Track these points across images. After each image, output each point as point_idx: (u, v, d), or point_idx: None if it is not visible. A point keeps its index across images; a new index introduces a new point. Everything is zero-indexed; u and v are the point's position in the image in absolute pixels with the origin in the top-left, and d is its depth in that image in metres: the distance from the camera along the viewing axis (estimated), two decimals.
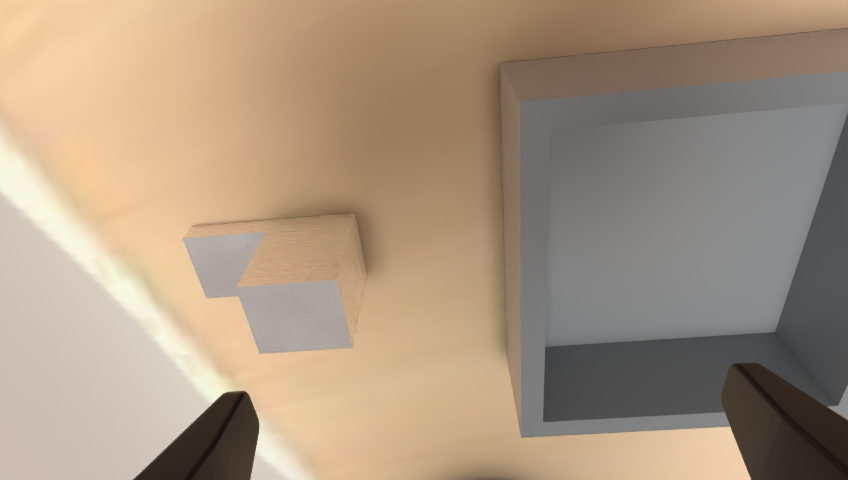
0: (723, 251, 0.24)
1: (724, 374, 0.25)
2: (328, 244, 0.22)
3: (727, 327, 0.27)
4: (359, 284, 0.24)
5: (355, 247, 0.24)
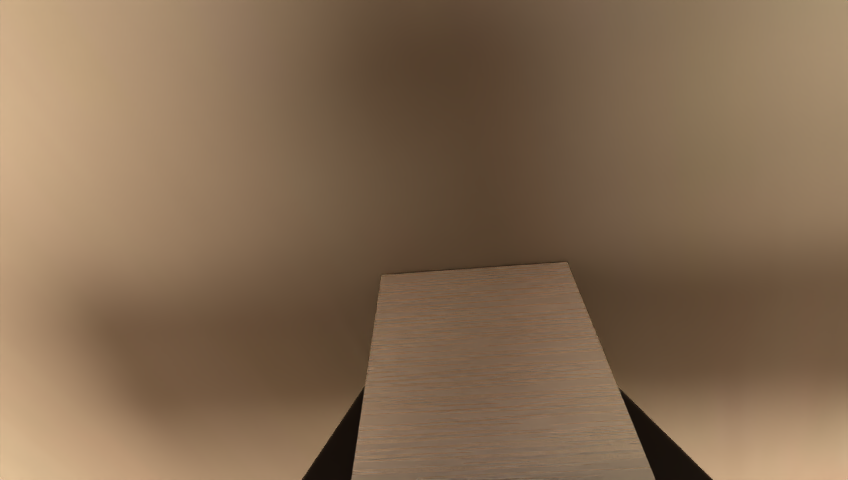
0: None
1: None
2: None
3: None
4: (545, 341, 0.08)
5: (440, 318, 0.09)
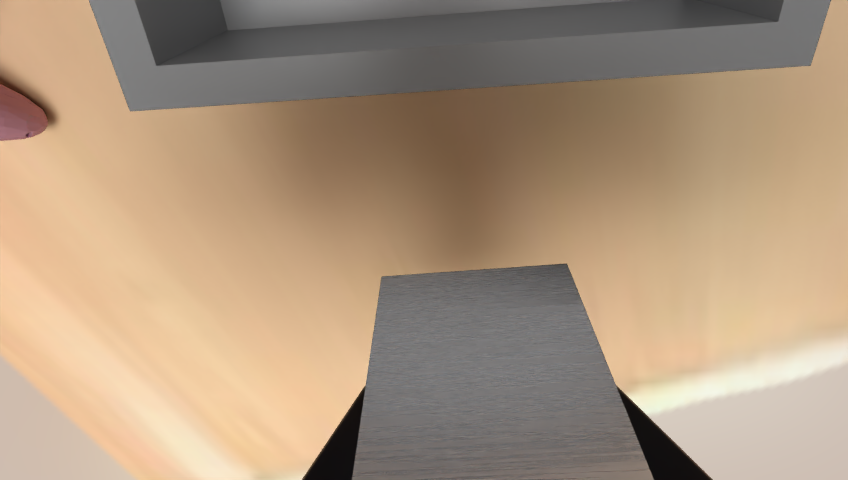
0: None
1: None
2: None
3: None
4: (545, 343, 0.08)
5: (440, 320, 0.09)
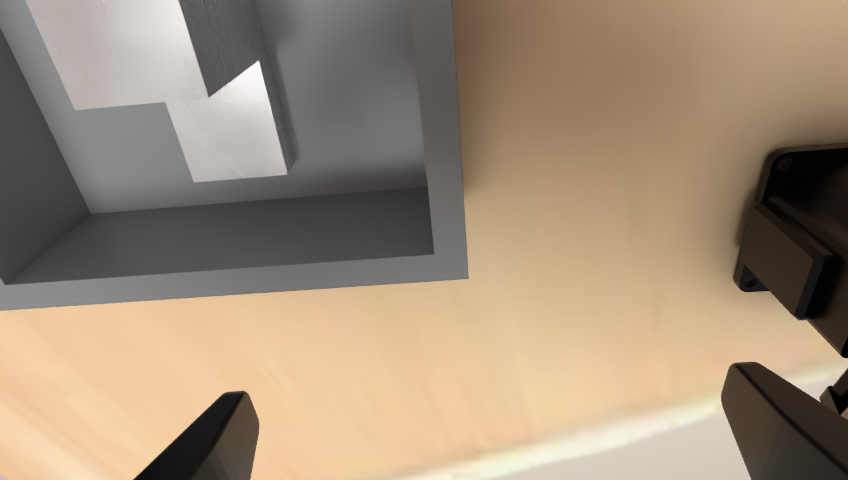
0: None
1: None
2: None
3: None
4: None
5: None
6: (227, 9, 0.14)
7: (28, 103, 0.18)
